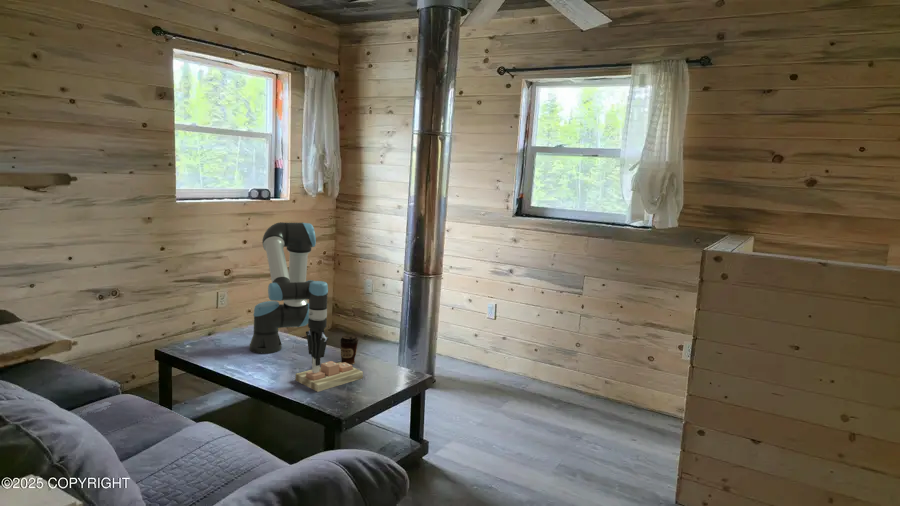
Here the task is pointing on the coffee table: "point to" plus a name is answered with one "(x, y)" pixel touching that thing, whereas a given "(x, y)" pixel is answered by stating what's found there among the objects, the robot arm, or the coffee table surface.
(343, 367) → the tile three pips
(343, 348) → the coffee cup
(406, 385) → the coffee table surface
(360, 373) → the board
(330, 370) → the tile two pips
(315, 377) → the tile one pip
